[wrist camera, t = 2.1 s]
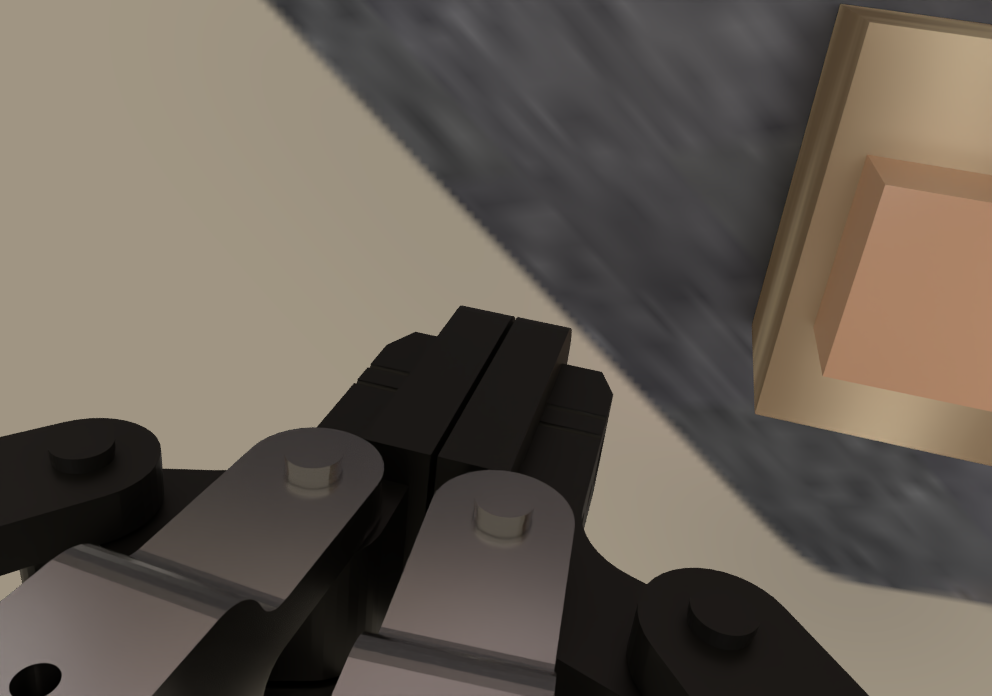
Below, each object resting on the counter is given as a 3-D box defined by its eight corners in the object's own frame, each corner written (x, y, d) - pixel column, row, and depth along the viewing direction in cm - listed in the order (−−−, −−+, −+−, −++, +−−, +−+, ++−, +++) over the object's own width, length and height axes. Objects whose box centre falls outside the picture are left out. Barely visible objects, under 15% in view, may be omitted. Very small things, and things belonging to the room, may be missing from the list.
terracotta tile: (1075, 188, 17) (1125, 225, 15) (999, 365, 19) (1033, 420, 17) (867, 154, 18) (885, 184, 16) (813, 327, 20) (822, 376, 17)
